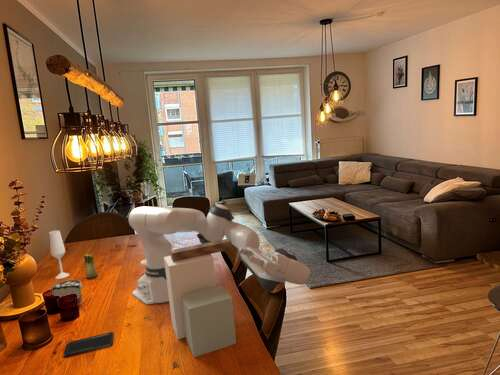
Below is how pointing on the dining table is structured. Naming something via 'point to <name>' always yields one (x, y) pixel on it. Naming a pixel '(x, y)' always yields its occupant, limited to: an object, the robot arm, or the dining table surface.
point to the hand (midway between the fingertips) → (244, 254)
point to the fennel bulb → (90, 266)
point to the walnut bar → (200, 250)
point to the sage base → (208, 320)
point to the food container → (68, 289)
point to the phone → (89, 344)
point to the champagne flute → (57, 250)
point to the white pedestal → (187, 284)
